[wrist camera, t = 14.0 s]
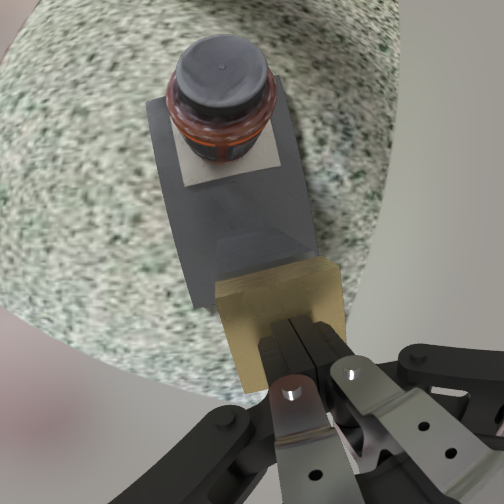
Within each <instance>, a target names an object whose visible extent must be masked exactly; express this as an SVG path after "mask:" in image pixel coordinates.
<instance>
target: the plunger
mask: <svg viewBox="0 0 504 504" xmlns="http://www.w3.org/2000/svg"><path fill="white" fill-rule="evenodd" d="M215 300H216V304H217V307H218V311H219V314H220V317H221V321H222V324H223V327H224V331H225V334H226V337H227V340H228V344H229V347H230V350H231V353H232V356H233V360H234V363H235V366H236V369H237V372H238V375H239V378H240V381H241V384H242V387H243V390H244V393H245V394H248V393H253V392H257V391H261V390H265V389H269V387H268V384H267V380H266V377H265V373H264V369H263V365H262V362H261V358H260V354H259V350H258V343H259V341H260V338H262V337H266V336H270V335H272V331H271V327H270V323H273V322H276V321H280V320H284V319H288V318H291V317H295V316H298V315H302V314H307V316H308V317H309V318H310V320H311V321H312V323H315V322H319V321H322V322H324V323H327V324H329V325H331V327H332V328H333V329H334V330H335V332H336V333H337V334H338V335H339V336H340V338H341V339H342V340H343V341H344V342H345V343H346V327H345V314H344V303H343V292H342V283H341V274H340V266H338V265H337V264H335V263H334V262H332V261H330V260H329V259H327V258H325V257H324V256H322V255H321V256H317V257H313V258H310V259H306V260H302V261H298V262H294V263H290V264H286V265H282V266H278V267H274V268H270V269H266V270H262V271H258V272H254V273H250V274H246V275H242V276H238V277H234V278H229V279H225V280H221V281H217V282H215Z"/></svg>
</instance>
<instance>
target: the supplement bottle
mask: <svg viewBox="0 0 504 504" xmlns="http://www.w3.org/2000/svg"><path fill="white" fill-rule="evenodd" d="M276 102H277V85H276V81H275V78H274V76H273V74H272V72H271V70H270V69H269V67H268V64H267V60H266V58H265V56H264V54H263V53H262V51H261V50H260V49H259V48H258V47H257V46H256V45H255V44H254V43H252V42H251V41H249V40H247V39H245V38H242V37H239V36H235V35H230V34H219V35H211V36H208V37H205V38H202V39H200V40H198V41H196V42H194V43H193V44H192V45H190V46H189V47H188V48H187V49H186V50H185V51H184V53H182V55H181V57H180V59H179V60H178V63H177V66H176V69H175V71H174V72H173V74H172V76H171V77H170V79H169V82H168V85H167V90H166V105H167V109H168V112H169V114H170V117H171V119H172V120H173V122H174V124H175V126H176V127H177V129H178V130H179V132H180V133H181V135H182V137H183V138H184V140H185V141H186V143H187V144H188V146H189V147H190V149H191V150H192V151H193V152H194V153H195V154H197V155H198V156H199V157H201V158H203V159H204V160H207V161H211V162H216V163H225V162H231V161H234V160H236V159H238V158H240V157H242V156H243V155H245V154H246V153H247V152H248V151H249V150H250V149H251V148H252V147H253V145H254V144H255V142H256V141H257V139H258V137H259V136H260V134H261V132H262V131H263V129H264V128H265V126H266V124H267V123H268V121H269V119H270V118H271V116H272V114H273V112H274V109H275V106H276Z"/></svg>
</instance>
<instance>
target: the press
mask: <svg viewBox="0 0 504 504" xmlns="http://www.w3.org/2000/svg"><path fill="white" fill-rule="evenodd" d="M274 78H275V81H276V85H277V102H276V106H275V109H274V112H273V114H272V116H271V118H270V119H269V121H268V123H267V124H266V126H265V128H264V129H263V131H262V132H261V134H260V136H259V137H258V139H257V141H256V142H255V144H254V145H253V147H252V148H251V149H250V150H249V151H248V152H247V153H246V154H245V155H243V156H242V157H240V158H238V159H236V160H234V161H231V162H225V163H216V162H211V161H207V160H204V159H203V158H201V157H199V156H198V155H197V154H195V153H194V152H193V151H192V150H191V149H190V147H189V146H188V144H187V143H186V141H185V140H184V138H183V137H182V135H181V133H180V132H179V130H178V129H177V127H176V126H175V124H174V122H173V120H172V119H171V117H170V114H169V112H168V109H167V105H166V96H164V97H161V98H157V99H154V100H151V101H148V102H145V103H146V109H147V116H148V122H149V128H150V133H151V139H152V144H153V150H154V155H155V160H156V165H157V170H158V174H159V179H160V184H161V188H162V193H163V197H164V201H165V205H166V210H167V214H168V218H169V222H170V226H171V230H172V234H173V237H174V241H175V245H176V249H177V252H178V256H179V260H180V263H181V267H182V270H183V274H184V277H185V280H186V284H187V287H188V290H189V294H190V297H191V300H192V303H193V306H194V309H197V308H201V307H206V306H210V305H214V304H216V300H215V282H217V281H221V280H225V279H229V278H234V277H238V276H242V275H246V274H250V273H254V272H258V271H262V270H266V269H270V268H274V267H278V266H282V265H286V264H290V263H294V262H298V261H302V260H306V259H310V258H313V257H317V256H319V253H318V247H317V241H316V235H315V229H314V224H313V218H312V212H311V207H310V202H309V197H308V192H307V187H306V182H305V177H304V172H303V168H302V163H301V158H300V154H299V150H298V145H297V141H296V137H295V133H294V129H293V124H292V120H291V117H290V113H289V109H288V105H287V101H286V98H285V94H284V90H283V87H282V83H281V80H280V76H279V75H276V76H274Z"/></svg>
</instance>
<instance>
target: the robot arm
mask: <svg viewBox="0 0 504 504" xmlns="http://www.w3.org/2000/svg"><path fill="white" fill-rule="evenodd" d="M270 327H271V331H272V335H270V336H266V337H262V338H260V341H259V343H258V350H259V354H260V358H261V362H262V365H263V369H264V373H265V377H266V380H267V384H268V387H269V390H268V393H267V395H266V397H265V398H264V399H263V400H262V401H261V402H260V403H258V404H257V405H255V406H253V407H251V408H249V409H247V410H245V409H244V408H242V407H240V406H236V405H225V406H221V407H218V408H215V409H213V410H212V411H210V412H209V413H208V414H207V415H206V416H205V417H204V418H203V419H202V420H201V421H200V422H199V423H198V424H197V425H196V426H195V427H194V428H193V429H192V430H191V431H190V432H189V433H188V434H187V435H186V436H185V437H184V438H183V439H182V440H180V441H179V442H178V443H177V444H176V445H175V446H174V447H173V448H172V449H171V450H170V451H169V452H168V453H167V454H166V455H165V456H163V457H162V458H161V459H160V460H159V461H158V462H157V463H156V464H155V465H154V466H152V467H151V468H150V469H149V470H148V471H147V472H146V473H145V474H143V475H142V476H141V477H140V478H139V479H138V480H137V481H135V482H134V483H133V484H132V485H131V486H130V487H128V488H127V489H126V490H124V491H123V492H122V493H121V494H120V495H118V496H117V497H116V498H114V499H113V500H112V501H111V502H109V503H108V504H243V503H244V501H245V500H246V499H247V498H248V496H249V495H250V494H251V492H252V491H253V490H254V488H255V487H256V486H257V484H258V483H259V482H260V480H261V479H262V477H263V476H264V475H265V473H266V471H267V469H268V467H269V466H271V465H273V464H275V463H277V466H278V472H279V480H280V487H281V493H282V500H283V503H282V504H504V351H490V350H476V349H466V348H455V347H446V346H437V345H429V344H413V345H409V346H407V347H405V348H404V349H402V350H401V352H400V353H399V355H398V361H393V362H388V363H382V364H374V363H373V362H372V361H371V360H370V359H369V358H367V357H364V356H359V355H355V354H354V353H353V352H352V350H351V349H350V348H349V347H348V346H347V344H346V343H345V342H344V341H343V340H342V339H341V338H340V336H339V335H338V334H337V333H336V332H335V330H334V329H333V328H332V327H331V325H329V324H327V323H324V322H322V321H319V322H315V323H312V321H311V320H310V318H309V317H308V316H307V314H302V315H298V316H295V317H291V318H288V319H284V320H280V321H276V322H273V323H270ZM432 386H434V387H441V388H448V389H455V390H463V391H467V392H468V393H467V394H466V395H465V396H462V397H456V396H448V395H441V394H435V393H431V389H432ZM328 412H330V413H331V414H332V416H333V425H334V427H331V425H330V422H329V420H328V417H327V415H326V413H328ZM340 438H341V439H342V441H343V443H344V444H345V446H346V447H347V449H348V450H349V452H350V453H351V455H352V456H353V458H354V459H355V461H356V463H357V465H358V467H359V472H360V474H356V475H354V473H353V471H352V468H351V465H350V463H349V460H348V457H347V455H346V452H345V449H344V447H343V444H342V442H341V439H340Z"/></svg>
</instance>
